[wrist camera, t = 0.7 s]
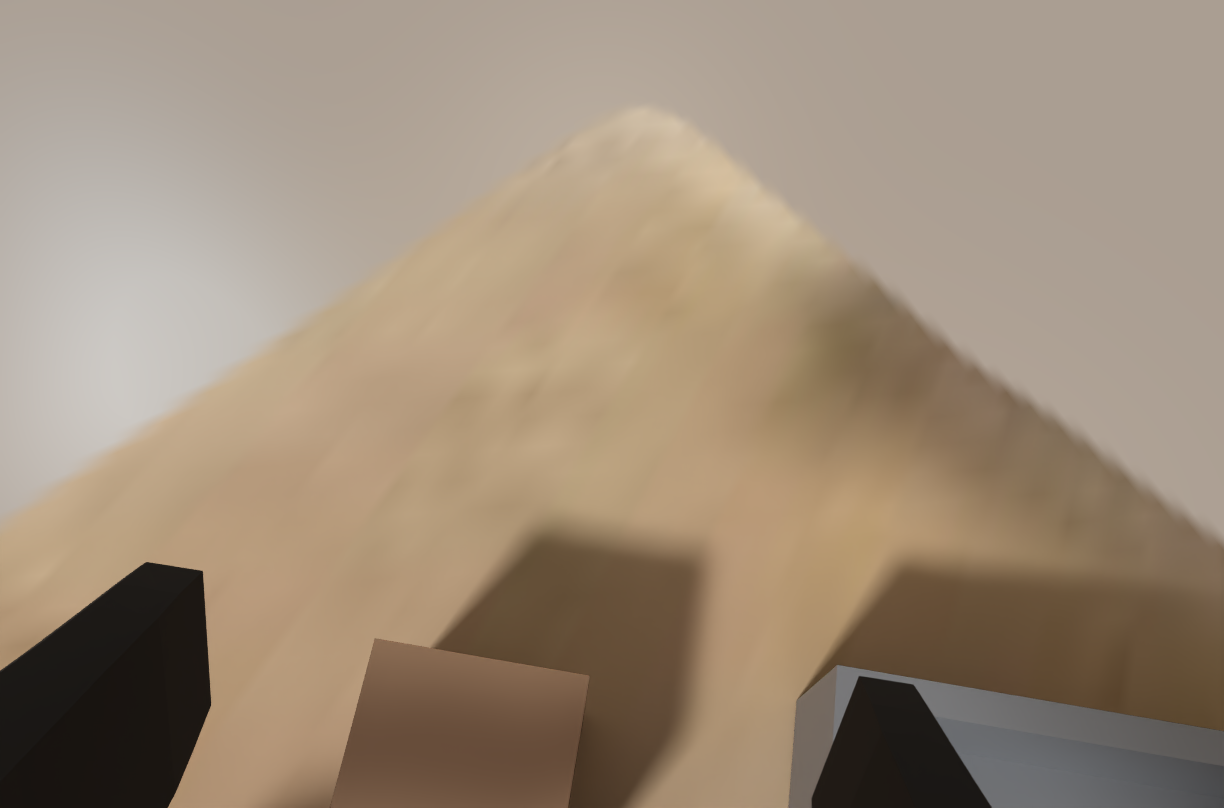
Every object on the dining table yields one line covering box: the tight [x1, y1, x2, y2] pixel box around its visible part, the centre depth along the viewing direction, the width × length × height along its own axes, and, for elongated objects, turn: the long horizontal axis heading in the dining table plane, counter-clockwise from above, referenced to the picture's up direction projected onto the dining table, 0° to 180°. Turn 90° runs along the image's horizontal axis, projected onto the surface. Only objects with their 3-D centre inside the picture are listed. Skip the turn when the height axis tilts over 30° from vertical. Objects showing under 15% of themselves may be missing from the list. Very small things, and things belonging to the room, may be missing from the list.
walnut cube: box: [330, 639, 590, 808], centre depth 25 cm, size 5×5×5 cm
